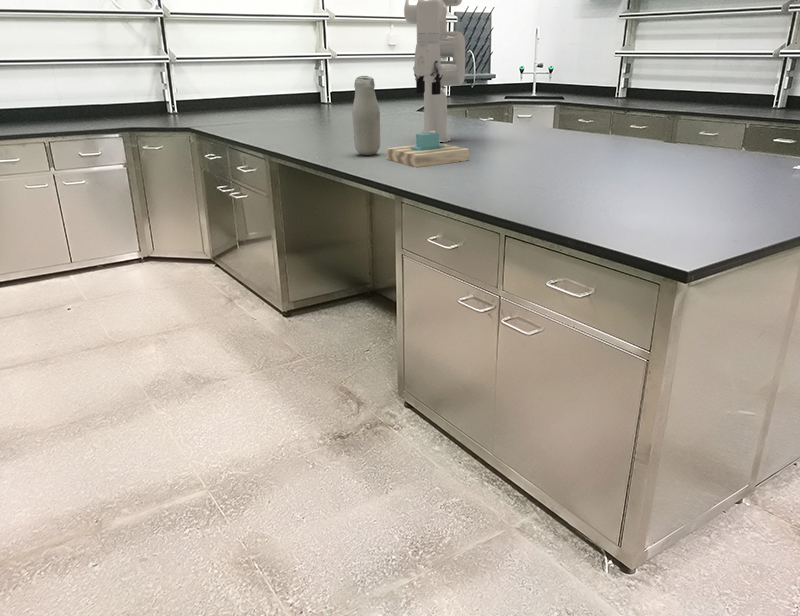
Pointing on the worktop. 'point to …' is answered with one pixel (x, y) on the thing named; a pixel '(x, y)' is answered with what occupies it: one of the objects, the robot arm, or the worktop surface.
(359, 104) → the grey bottle
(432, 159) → the tan flat slab
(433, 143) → the servo
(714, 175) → the worktop surface
